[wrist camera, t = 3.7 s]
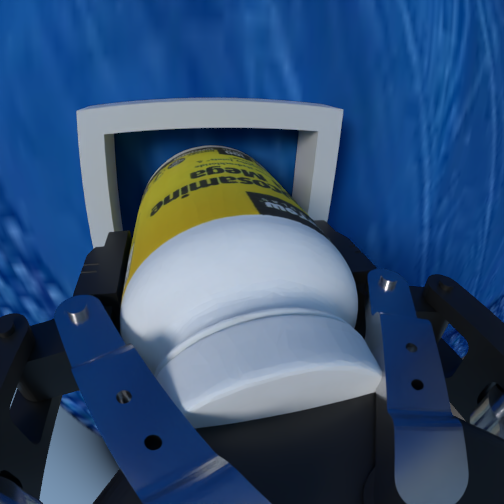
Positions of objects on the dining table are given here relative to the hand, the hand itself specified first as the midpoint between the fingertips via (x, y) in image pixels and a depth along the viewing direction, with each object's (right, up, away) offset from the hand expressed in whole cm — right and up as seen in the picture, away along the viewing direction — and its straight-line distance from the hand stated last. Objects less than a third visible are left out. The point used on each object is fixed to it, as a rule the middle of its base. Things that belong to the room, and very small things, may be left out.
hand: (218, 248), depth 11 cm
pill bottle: (-1, +2, +3) cm, 4 cm away
